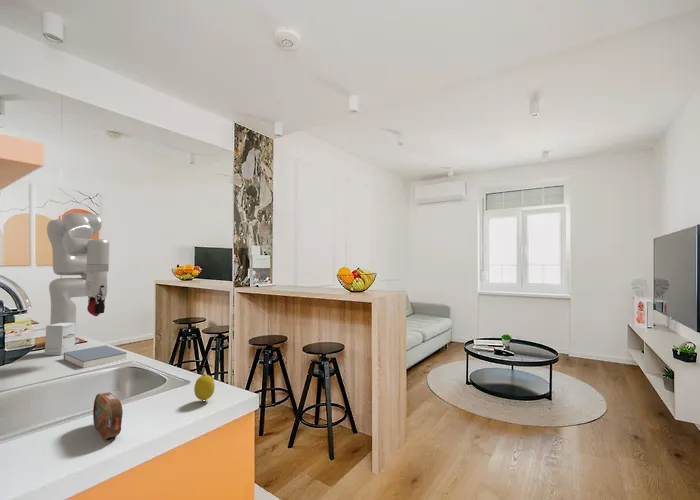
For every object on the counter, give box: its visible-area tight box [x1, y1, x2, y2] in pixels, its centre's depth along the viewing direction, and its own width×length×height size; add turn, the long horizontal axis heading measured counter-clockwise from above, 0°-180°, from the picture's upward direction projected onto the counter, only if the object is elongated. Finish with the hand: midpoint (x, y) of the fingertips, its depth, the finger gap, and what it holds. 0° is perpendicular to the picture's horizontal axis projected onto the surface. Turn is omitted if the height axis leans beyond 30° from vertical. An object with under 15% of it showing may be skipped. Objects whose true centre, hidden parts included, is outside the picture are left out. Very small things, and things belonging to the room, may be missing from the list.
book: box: [63, 345, 127, 369], centre depth 143 cm, size 20×15×3 cm
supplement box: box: [44, 322, 77, 356], centre depth 151 cm, size 7×7×13 cm
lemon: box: [194, 373, 216, 401], centre depth 102 cm, size 6×6×8 cm
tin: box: [92, 391, 124, 440], centre depth 84 cm, size 15×3×8 cm, turn 48°
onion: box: [86, 297, 106, 317], centre depth 143 cm, size 6×6×8 cm
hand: (96, 312), depth 143 cm, fingers closed on onion, 5 cm apart
